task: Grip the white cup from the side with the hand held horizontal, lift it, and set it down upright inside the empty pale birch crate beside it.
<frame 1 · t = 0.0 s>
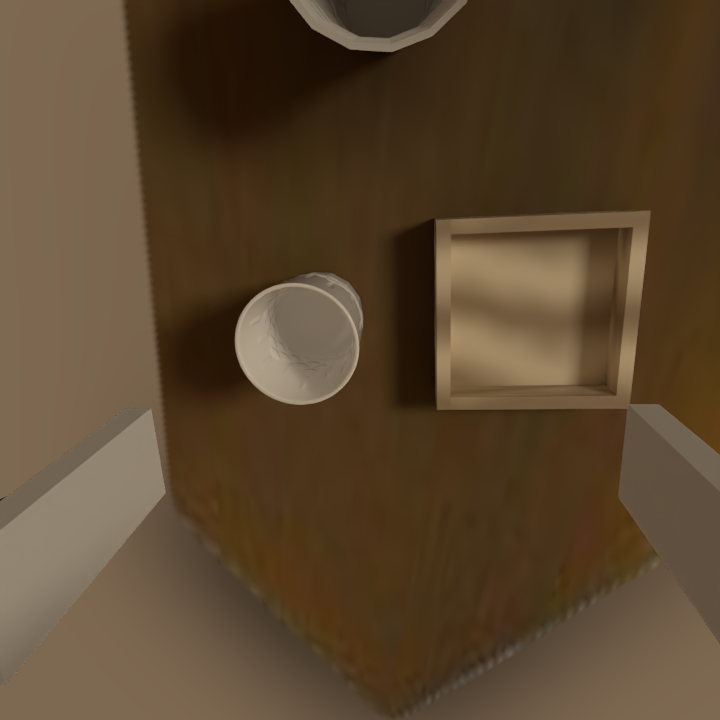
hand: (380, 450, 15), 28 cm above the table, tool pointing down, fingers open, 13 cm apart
plastic cup: (388, 7, 36), on the table
birch crate: (525, 307, 41), on the table
white cup: (322, 312, 43), on the table
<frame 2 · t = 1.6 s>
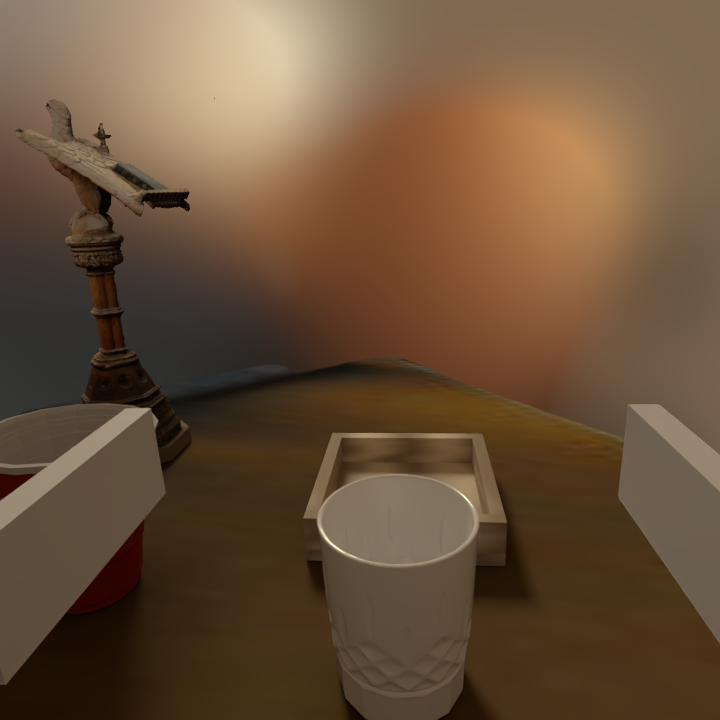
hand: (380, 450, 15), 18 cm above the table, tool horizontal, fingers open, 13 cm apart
plastic cup: (101, 585, 37), on the table
bird statue: (159, 446, 58), on the table
birch crate: (405, 507, 44), on the table
white cup: (400, 675, 29), on the table
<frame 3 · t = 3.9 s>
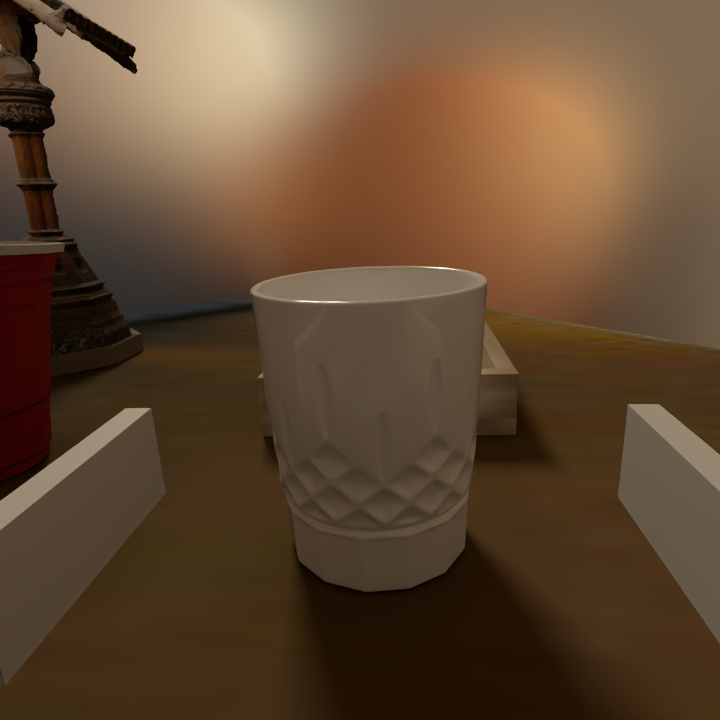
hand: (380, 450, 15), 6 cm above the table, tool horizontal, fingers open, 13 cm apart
bird statue: (104, 355, 49), on the table
birch crate: (390, 391, 36), on the table
white cup: (378, 538, 21), on the table
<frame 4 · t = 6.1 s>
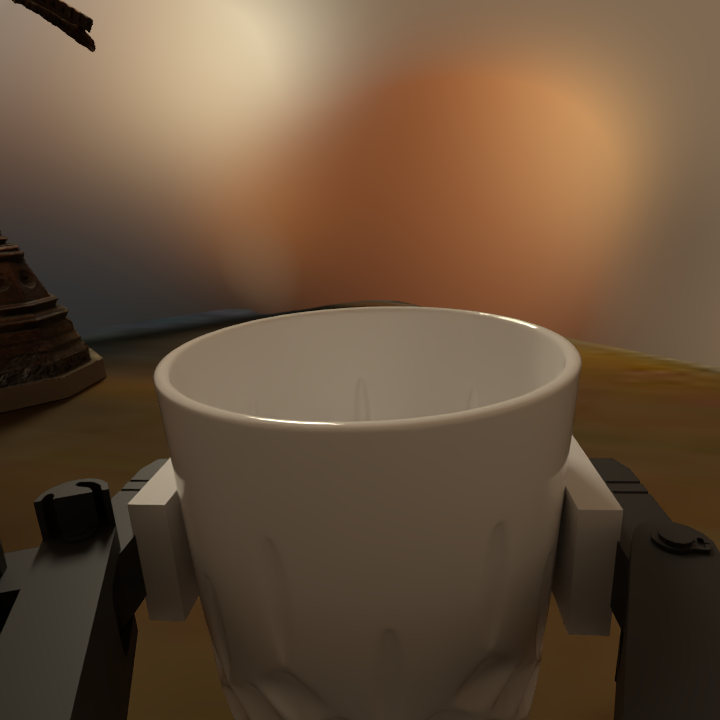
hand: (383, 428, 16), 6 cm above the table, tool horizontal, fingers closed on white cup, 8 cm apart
bird statue: (59, 384, 42), on the table
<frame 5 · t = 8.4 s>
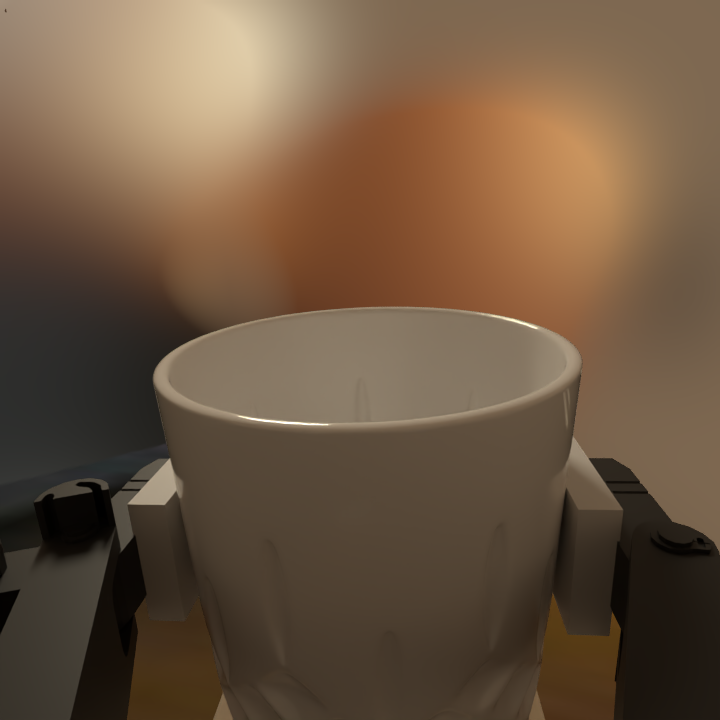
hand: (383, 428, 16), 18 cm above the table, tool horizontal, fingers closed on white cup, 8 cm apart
when the fingers open (9 cm above the table, at t = 10.7 s): white cup drops 2 cm, resting on birch crate.
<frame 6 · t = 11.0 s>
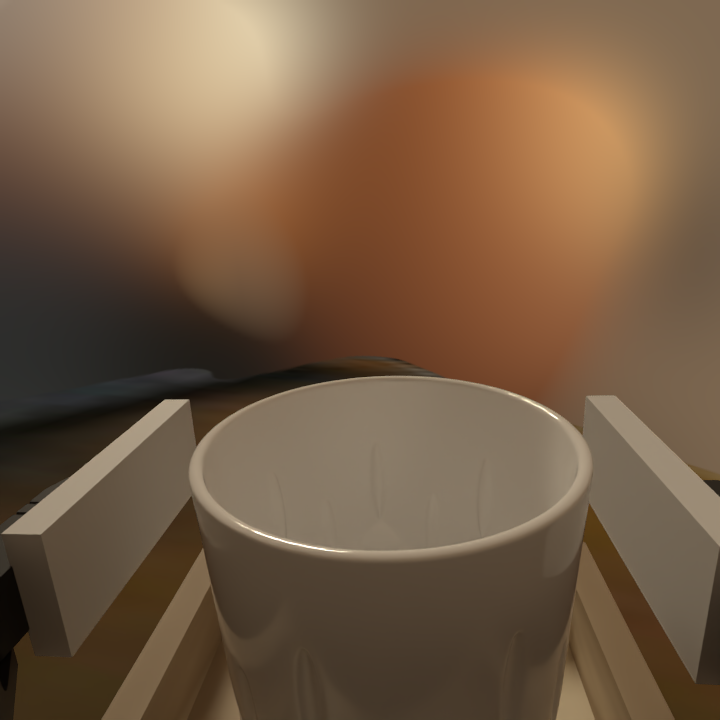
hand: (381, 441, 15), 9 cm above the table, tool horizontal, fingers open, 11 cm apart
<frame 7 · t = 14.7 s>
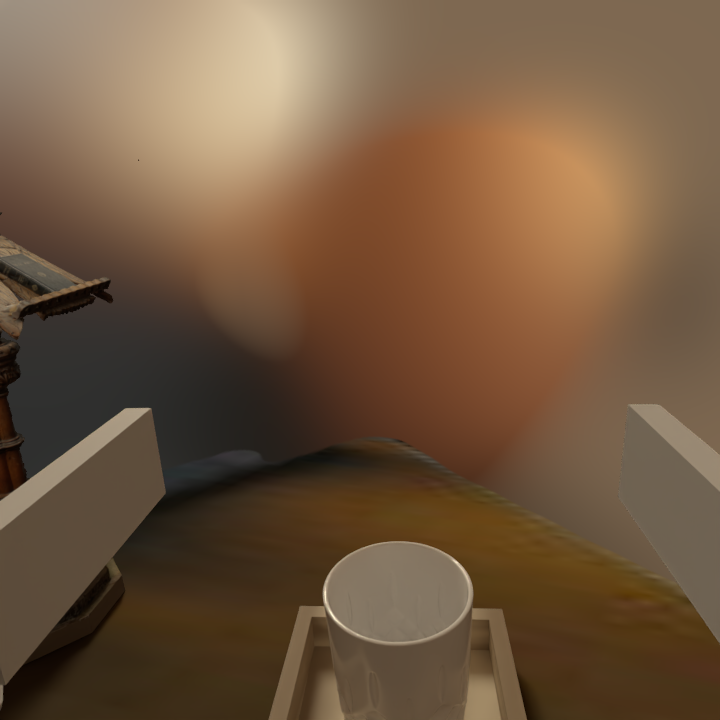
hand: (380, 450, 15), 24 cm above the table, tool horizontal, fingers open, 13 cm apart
bird statue: (81, 602, 45), on the table
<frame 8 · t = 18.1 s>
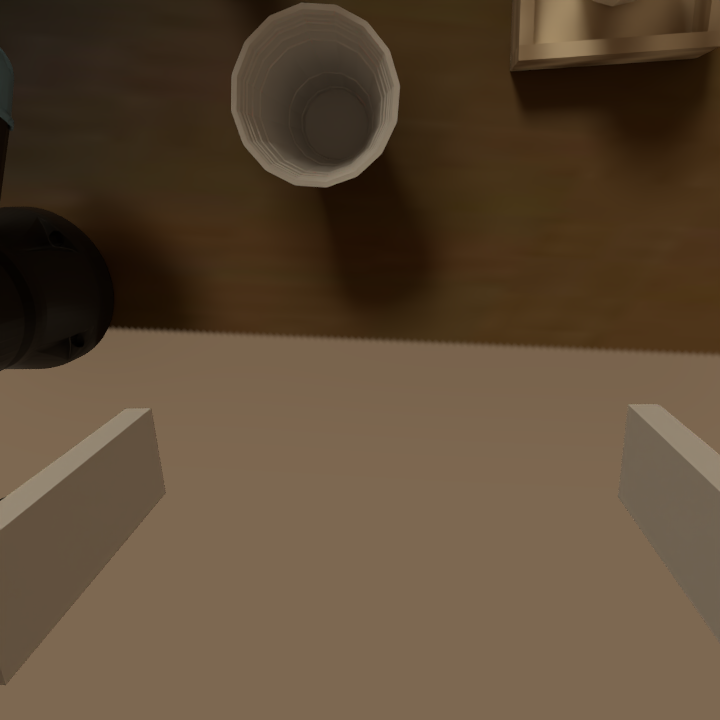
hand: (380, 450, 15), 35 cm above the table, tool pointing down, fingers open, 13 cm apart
plastic cup: (338, 123, 45), on the table
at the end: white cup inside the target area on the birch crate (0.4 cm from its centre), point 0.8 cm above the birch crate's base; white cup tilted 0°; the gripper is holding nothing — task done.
